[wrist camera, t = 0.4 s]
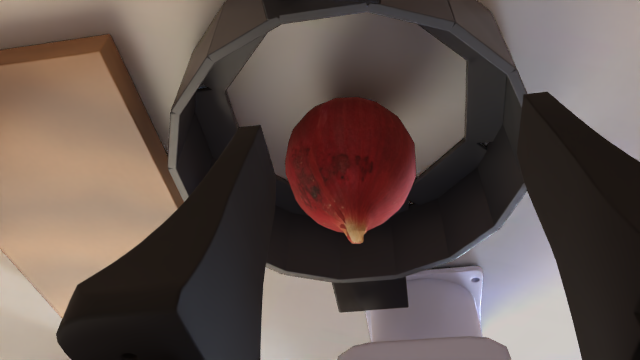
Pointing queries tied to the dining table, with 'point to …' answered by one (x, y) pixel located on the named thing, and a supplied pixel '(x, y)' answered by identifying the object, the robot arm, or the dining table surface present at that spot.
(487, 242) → the dining table surface
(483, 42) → the cooking pot
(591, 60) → the dining table surface
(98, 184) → the cutting board
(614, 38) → the dining table surface
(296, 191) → the onion
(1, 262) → the dining table surface
